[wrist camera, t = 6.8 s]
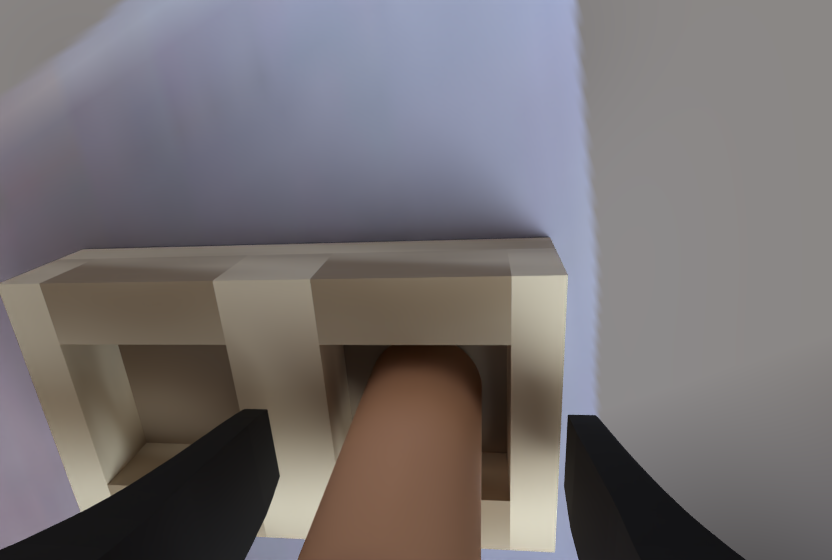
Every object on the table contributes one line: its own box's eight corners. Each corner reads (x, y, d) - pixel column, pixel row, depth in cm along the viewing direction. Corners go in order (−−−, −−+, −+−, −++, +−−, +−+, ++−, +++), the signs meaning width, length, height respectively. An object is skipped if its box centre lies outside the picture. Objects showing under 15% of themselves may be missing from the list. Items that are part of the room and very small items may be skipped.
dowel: (480, 435, 15) (478, 701, 8) (374, 429, 15) (294, 678, 9) (483, 337, 14) (482, 558, 7) (367, 334, 14) (271, 540, 8)
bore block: (542, 474, 17) (554, 551, 14) (146, 460, 18) (86, 527, 16) (550, 237, 14) (567, 275, 11) (82, 249, 16) (-4, 284, 13)
